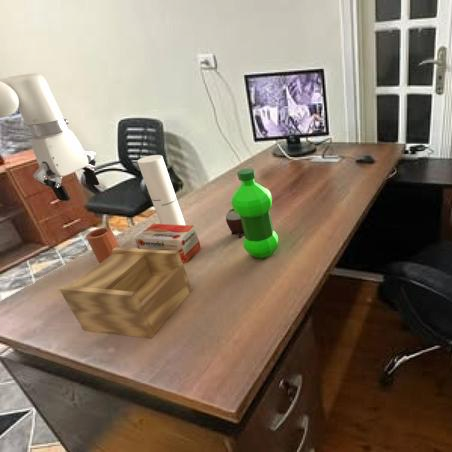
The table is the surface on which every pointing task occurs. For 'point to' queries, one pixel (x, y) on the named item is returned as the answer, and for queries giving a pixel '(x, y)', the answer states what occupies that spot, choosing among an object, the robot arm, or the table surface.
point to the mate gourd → (234, 222)
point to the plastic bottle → (255, 215)
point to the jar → (102, 243)
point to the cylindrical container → (161, 190)
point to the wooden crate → (129, 292)
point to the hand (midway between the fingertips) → (80, 192)
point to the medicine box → (170, 239)
